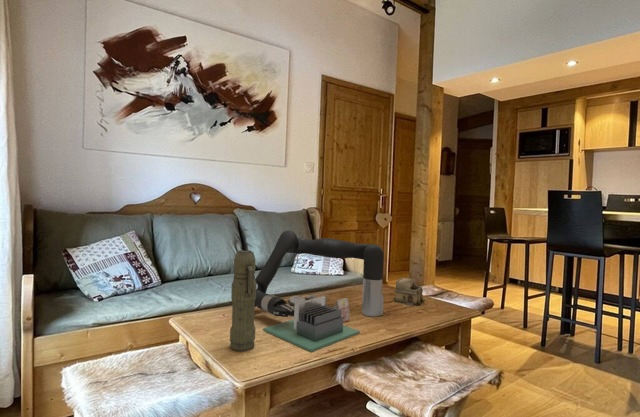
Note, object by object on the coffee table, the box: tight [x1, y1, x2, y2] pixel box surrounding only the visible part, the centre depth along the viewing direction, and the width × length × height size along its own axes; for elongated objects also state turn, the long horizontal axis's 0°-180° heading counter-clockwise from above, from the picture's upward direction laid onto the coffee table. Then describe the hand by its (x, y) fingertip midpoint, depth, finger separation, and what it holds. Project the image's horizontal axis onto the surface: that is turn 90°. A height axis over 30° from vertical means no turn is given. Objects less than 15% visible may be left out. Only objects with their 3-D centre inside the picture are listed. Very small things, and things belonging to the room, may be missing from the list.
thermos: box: [229, 249, 257, 353], centre depth 136 cm, size 9×12×35 cm
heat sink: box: [262, 295, 361, 353], centre depth 153 cm, size 28×28×16 cm
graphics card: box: [287, 294, 318, 306], centre depth 192 cm, size 17×4×12 cm
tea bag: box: [333, 297, 350, 323], centre depth 168 cm, size 4×7×10 cm, turn 135°
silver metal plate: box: [293, 295, 327, 330], centre depth 154 cm, size 18×2×10 cm, turn 138°
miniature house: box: [392, 277, 425, 307], centre depth 203 cm, size 15×14×11 cm
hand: (299, 315), depth 150 cm, fingers closed
